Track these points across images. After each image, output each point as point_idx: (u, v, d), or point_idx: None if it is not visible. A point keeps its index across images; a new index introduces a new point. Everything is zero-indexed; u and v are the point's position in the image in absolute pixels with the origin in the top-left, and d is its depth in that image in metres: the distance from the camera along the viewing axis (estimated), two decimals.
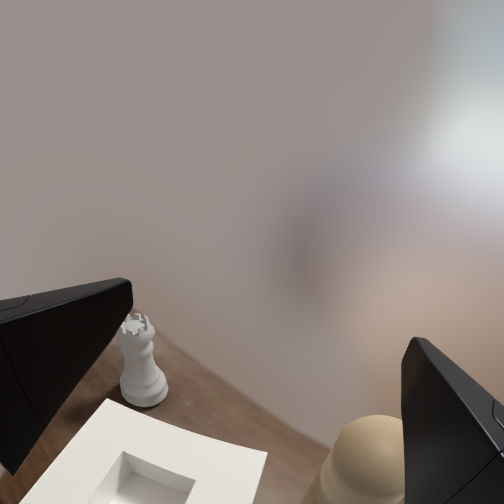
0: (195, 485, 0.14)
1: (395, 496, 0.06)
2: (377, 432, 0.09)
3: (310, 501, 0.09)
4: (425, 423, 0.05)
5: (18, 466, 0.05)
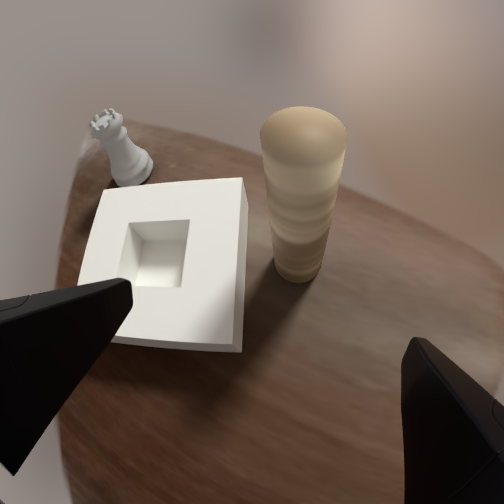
0: (190, 224, 0.21)
1: (317, 166, 0.11)
2: (296, 118, 0.12)
3: (268, 195, 0.15)
4: (425, 423, 0.05)
5: (18, 466, 0.05)
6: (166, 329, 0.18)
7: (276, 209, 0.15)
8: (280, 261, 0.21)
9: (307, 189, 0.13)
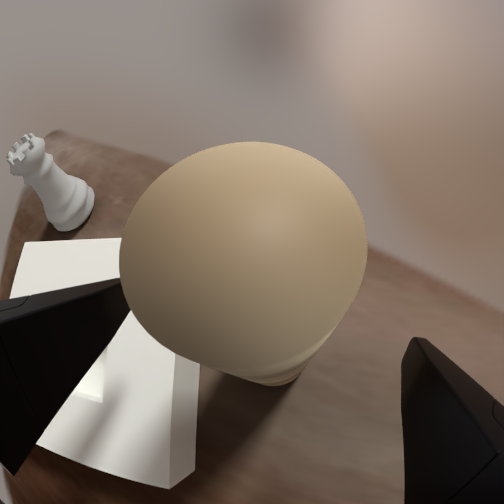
0: None
1: (265, 366, 0.04)
2: (223, 183, 0.05)
3: None
4: (425, 423, 0.05)
5: (18, 466, 0.05)
6: (89, 453, 0.10)
7: None
8: None
9: (249, 375, 0.05)
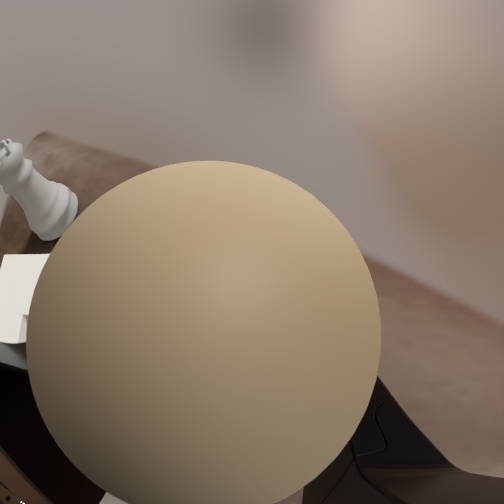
0: None
1: None
2: (155, 232, 0.03)
3: None
4: None
5: None
6: None
7: None
8: None
9: None
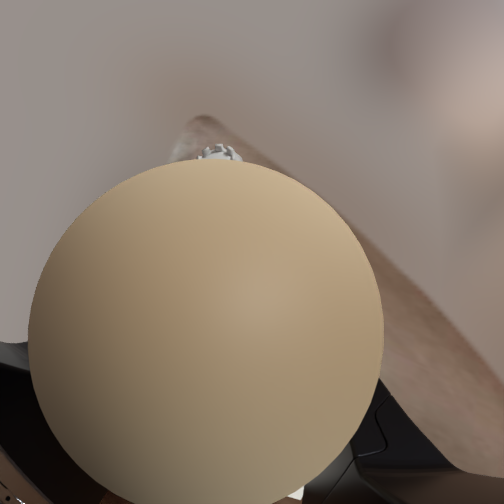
0: None
1: None
2: (158, 229, 0.03)
3: None
4: None
5: None
6: None
7: None
8: None
9: None
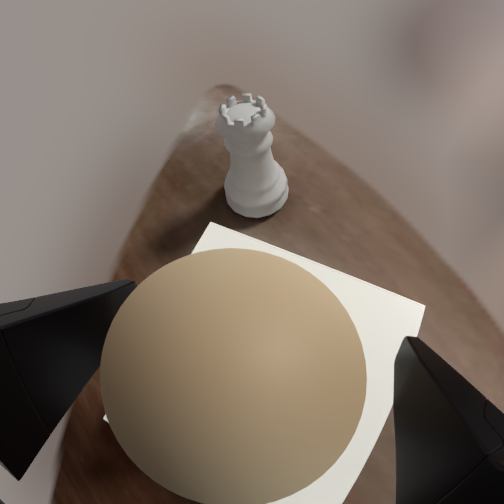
0: None
1: (253, 501, 0.03)
2: (206, 311, 0.04)
3: None
4: (416, 423, 0.05)
5: (23, 470, 0.05)
6: None
7: None
8: None
9: None
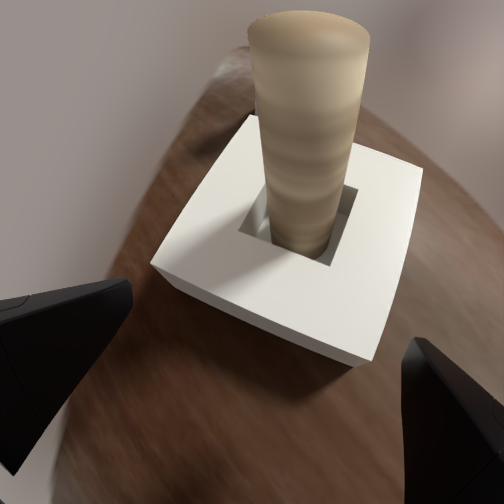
0: (358, 195, 0.16)
1: (333, 60, 0.06)
2: (297, 18, 0.07)
3: (260, 126, 0.10)
4: (425, 423, 0.05)
5: (18, 466, 0.05)
6: (294, 313, 0.14)
7: (272, 145, 0.10)
8: (278, 231, 0.16)
9: (317, 102, 0.08)
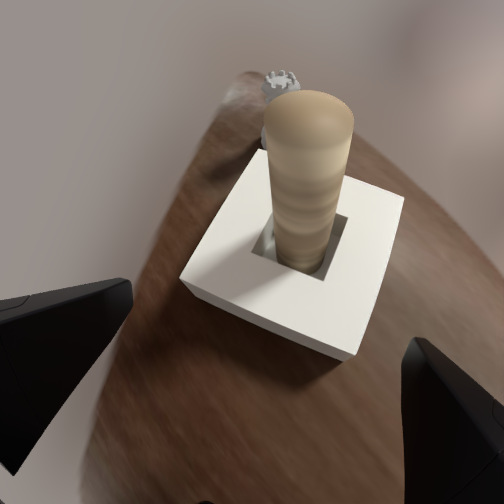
0: (348, 222, 0.20)
1: (324, 149, 0.11)
2: (300, 101, 0.12)
3: (271, 182, 0.14)
4: (425, 423, 0.05)
5: (18, 466, 0.05)
6: (295, 317, 0.18)
7: (280, 197, 0.14)
8: (282, 253, 0.20)
9: (313, 174, 0.12)
